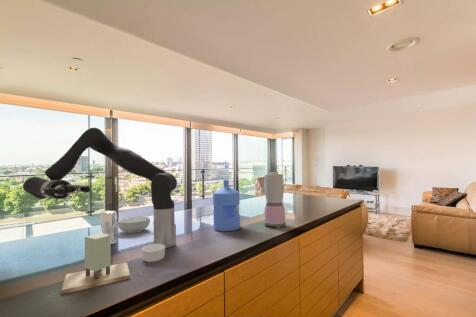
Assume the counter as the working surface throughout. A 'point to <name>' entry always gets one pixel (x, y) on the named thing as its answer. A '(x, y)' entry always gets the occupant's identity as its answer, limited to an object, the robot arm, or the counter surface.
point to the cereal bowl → (133, 224)
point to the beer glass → (109, 224)
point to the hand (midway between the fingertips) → (76, 190)
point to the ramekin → (153, 252)
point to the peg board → (95, 278)
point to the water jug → (226, 208)
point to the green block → (97, 251)
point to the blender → (274, 199)
